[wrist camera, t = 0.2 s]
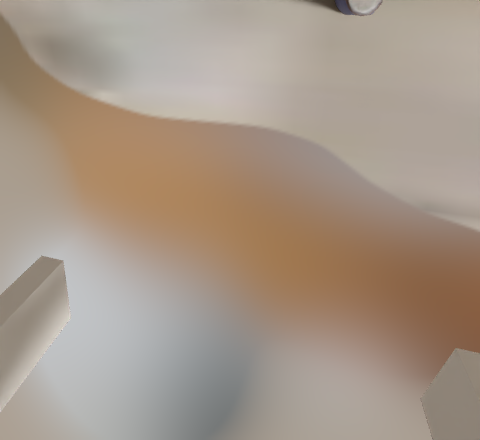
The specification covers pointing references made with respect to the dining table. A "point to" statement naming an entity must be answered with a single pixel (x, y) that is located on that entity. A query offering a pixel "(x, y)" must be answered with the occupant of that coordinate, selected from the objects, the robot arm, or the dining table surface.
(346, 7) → the dark blue box
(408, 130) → the dining table surface
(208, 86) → the dining table surface
